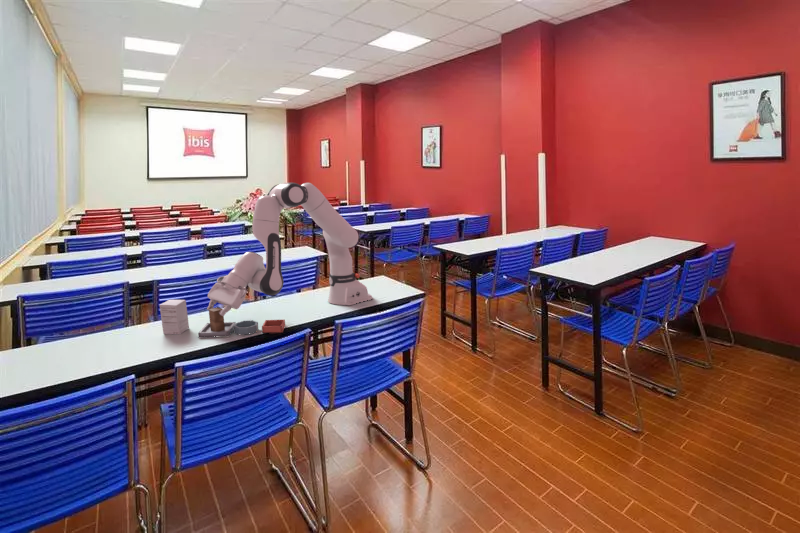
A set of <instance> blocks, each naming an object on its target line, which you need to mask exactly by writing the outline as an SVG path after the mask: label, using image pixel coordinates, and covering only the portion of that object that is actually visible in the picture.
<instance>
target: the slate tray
mask: <svg viewBox="0 0 800 533" xmlns="http://www.w3.org/2000/svg"><path fill="white" fill-rule="evenodd" d="M236 323H237V322H236V321H228V322H227V321H224V325H225V330H223V331H220V332H213V331H211V328H210V322H207V323H206V324H204V326H203V327H202V328H201V330H200V331H199V332H198V333H197V334H198V335H197V336H198V338H199V337H207V338H217V337H216V336H229V337H230V335H231V334H232V333H233V332H234V325H235V324H236ZM231 332H232V333H231ZM230 333H231V334H230ZM214 336H215V337H214Z"/></svg>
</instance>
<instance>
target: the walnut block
mask: <svg viewBox="0 0 800 533" xmlns="http://www.w3.org/2000/svg"><path fill="white" fill-rule="evenodd" d="M223 309H224V308H221V307H218V306H217V307H213V309H209V310H208V316H209V323H210V328H211V331H213V332H220V331H223V330H225V325H224V322H225V318H224V316H225V315H224V316H221V315H219V312H220V311H221V310H223Z"/></svg>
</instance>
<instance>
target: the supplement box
mask: <svg viewBox="0 0 800 533" xmlns="http://www.w3.org/2000/svg"><path fill="white" fill-rule="evenodd" d="M159 311H160V317H161V325H162V334H164V335H181V334H183V333H184V332H185V331H187V330H188V329H190V324H189V317H188V307H187V300H186V299H168V300H166V301H165V302H162V303H160V304H159Z"/></svg>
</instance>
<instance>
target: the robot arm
mask: <svg viewBox="0 0 800 533" xmlns="http://www.w3.org/2000/svg"><path fill="white" fill-rule="evenodd" d="M254 206H255V207H254V211H253V216H252V222H251V224H252V225H251V228H252V234H253V236H254V237H255V239H256V240H257V241H258V242H260V243H261V244H262V246H263V247H264V250H265V253H266V254H265V263H264V258H263V256H262V255H261V254H259V253H256V252H254V251H246V252H244V254H242V256H241V257H240V258H239V259H238V260H237V262H236V263H235V264H234V267H233V269H231V271H230V272H229V273H228V275H224V276H219V277H217V279H216V282H215V284H213V285H212V287H211V288H210V290H209V291H208V293H207V298H208V299H210V300H209V303H208V306H206V307H207V308H206V310H207V311H209V309H213V308H214V306H215V305H216V304H217V303H218V304H221V305H223V306H224V308H222V309H223V310H221V311H220V312H219V315H221V316H225V315H226V314H227V313H228V312H230V311H231V310H232V309H234V310H238V309H239V308H240V307H241V305H242V304H243V302H244V300H245V298H246V296H247V295H246V294H247V293H248V292H247V291H248V290H247V286H248V287H249V288H250V289H251V290H253V291H256V292H259V293H263V294H264V295H267V296H269V297H270V296H271V297H272V296H275V295H278V294H279V293H280V292H281V291H282V289H283V287H284V283H285V282H284V276H283V274H282V272H283V271H282V241H281V237H280V230H279V229H280V215H281V213H282V210H283V209H290V208H297V207H299V206H300V207H302V208H303V209H304V211H305V212H306V213H307V214H308V215H309V217H310V218H311V219H312V220H313V222H315V224H316V225H317V226H318V227H320V228H321V229H322V236H323V238H324V240H325V244H326V248H327V249H326V250H327V252H328V259H329V277H328V278H329V279H328V280H329V285H330V286H329V295H328V299H327V302H328V303H330V304H333V305H338V306H339V305H340V306H341V305H344V306H353V305H357V304H360V303H359V302H361V303H364V302H363V301H365V302H368V301H371V299H372V298H373V296H372V295H371V294H370V293H369V292H368V288H367V286H366V285H365V284H363V283H362V282H360V281H359V280H357V279H360V277H361V275H360V274H359V273H355V272H353V256H352V254H351V252H350V249H351V248H353V247H355V246H356V245H357V243H358V241H359V233H358V231H357V230H356V229H355V228H354V227H353V226H352V225H351V224H350V223H349V222H348V221H347V220H346V219H345V218H344V217H343V216H342V215H341V213H339V212H338V210H336V209H335V208H334V206H332V204H331V203H330V201H329V200H328V198H327V197H326V196H325V195H324V194H323V193H322V191H321V190H320V189H319V188H318V187H317V186H315V185H314V184H313V183H311V182H304V183H302V184H299V183H296V182H282V183H279V184H274V185H273V186H272V187H271V188H270V189H269V192H268V193H267V194H266V195H260V196H259V197H258V198H257V200H256V203H255V205H254ZM367 300H368V301H367ZM372 300H373V299H372ZM356 303H357V304H356Z"/></svg>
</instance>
